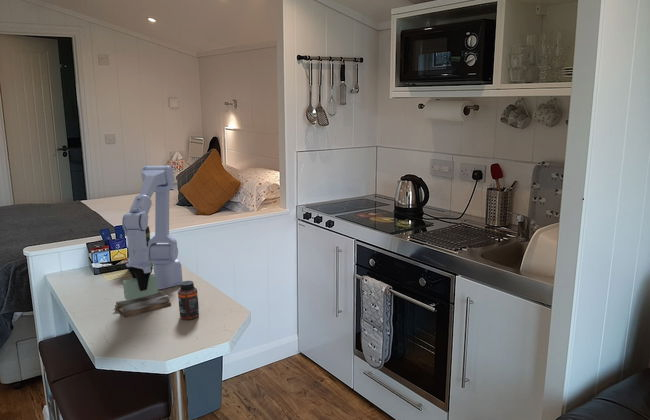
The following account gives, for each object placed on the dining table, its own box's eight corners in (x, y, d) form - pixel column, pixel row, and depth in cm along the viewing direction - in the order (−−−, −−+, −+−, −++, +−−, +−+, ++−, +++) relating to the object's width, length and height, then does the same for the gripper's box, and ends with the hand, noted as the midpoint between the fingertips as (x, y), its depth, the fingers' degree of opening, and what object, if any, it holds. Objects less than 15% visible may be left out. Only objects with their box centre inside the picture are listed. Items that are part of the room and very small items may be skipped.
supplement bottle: (203, 314, 167) (200, 280, 165) (192, 321, 162) (189, 286, 159) (186, 311, 169) (184, 278, 167) (176, 319, 164) (173, 284, 161)
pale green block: (154, 290, 177) (153, 273, 176) (158, 293, 175) (156, 276, 174) (124, 298, 171) (122, 280, 170) (127, 300, 169) (126, 283, 168)
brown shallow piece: (159, 296, 182) (158, 289, 182) (171, 305, 175) (170, 297, 174) (115, 308, 173) (114, 300, 173) (125, 317, 166) (124, 309, 165)
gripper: (117, 246, 173) (121, 285, 176) (133, 256, 162) (137, 297, 165) (138, 242, 177) (142, 281, 180) (155, 251, 166) (159, 292, 169)
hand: (141, 288), depth 173 cm, fingers closed on pale green block, 3 cm apart
